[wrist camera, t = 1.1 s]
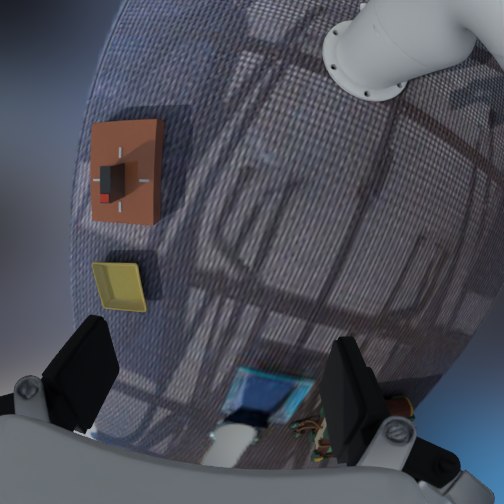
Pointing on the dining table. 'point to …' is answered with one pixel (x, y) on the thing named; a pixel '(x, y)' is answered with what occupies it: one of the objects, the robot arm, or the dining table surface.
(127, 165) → the panel
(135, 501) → the robot arm
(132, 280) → the yellow square tray
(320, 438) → the book
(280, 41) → the dining table surface
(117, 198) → the black block red end
